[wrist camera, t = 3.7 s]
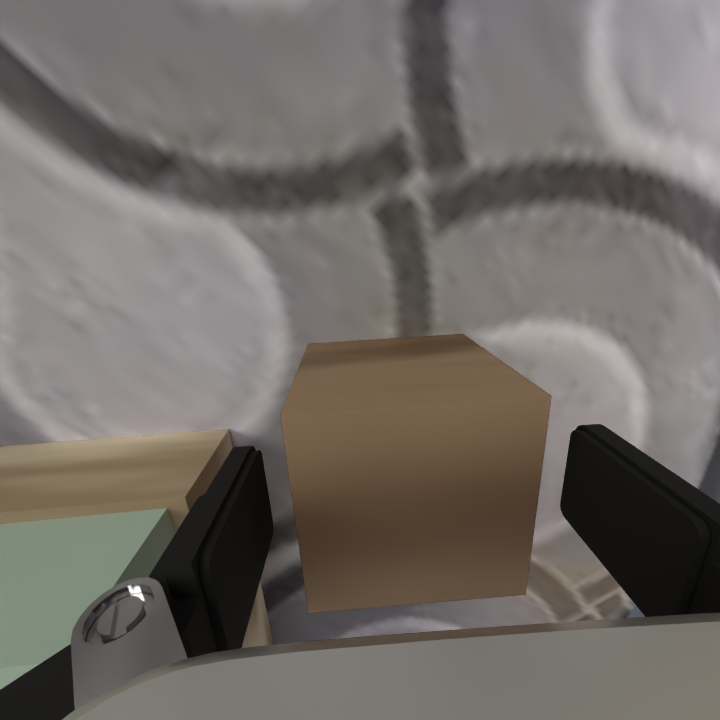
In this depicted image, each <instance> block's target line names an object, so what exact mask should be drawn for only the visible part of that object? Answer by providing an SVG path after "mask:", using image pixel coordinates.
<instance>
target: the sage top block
mask: <svg viewBox="0 0 720 720" xmlns="http://www.w3.org/2000/svg"><path fill="white" fill-rule="evenodd" d="M174 535H175V532H174V529H173V525H172V522H171V519H170V516H169V513H168V510H167V508H163V509H153V510H143V511H132V512H122V513H112V514H101V515H91V516H81V517H70V518H60V519H50V520H39V521H29V522H19V523H8V524H0V689H2V688H3V687H5V686H7V685H8V684H10V683H11V682H13V681H14V680H16V679H17V678H19V677H20V676H22V675H23V674H25V673H27V672H28V671H30V670H31V669H33V668H34V667H36V666H37V665H39V664H40V663H42V662H43V661H45V660H46V659H48V658H50V657H51V656H53V655H54V654H56V653H57V652H59V651H60V650H62V649H63V648H65V647H66V646H68V645H70V644H71V636H72V630H73V628H74V626H75V624H76V622H77V620H78V619H79V617H80V616H81V614H82V613H83V612H84V611H85V610H86V608H87V607H88V606H89V605H90V604H91V603H92V602H93V601H95V600H96V599H97V598H98V597H99V596H100V595H102V594H103V593H105V592H106V591H108V590H109V589H111V588H112V587H114V586H116V585H118V584H120V583H123V582H125V581H127V580H131V579H135V578H139V577H149V575H150V573H151V572H152V570H153V569H154V567H155V565H156V564H157V562H158V561H159V559H160V557H161V556H162V554H163V553H164V551H165V549H166V548H167V546H168V545H169V543H170V541H171V540H172V538H173V537H174Z"/></svg>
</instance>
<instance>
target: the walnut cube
mask: <svg viewBox="0 0 720 720" xmlns="http://www.w3.org/2000/svg"><path fill="white" fill-rule="evenodd" d="M550 404H551V395H550V394H548V393H547V392H545V391H544V390H542V389H541V388H540V387H538V386H537V385H535V384H534V383H532V382H531V381H530V380H528V379H527V378H525V377H524V376H522V375H521V374H519V373H518V372H517V371H515V370H514V369H512V368H511V367H509V366H508V365H507V364H505V363H504V362H502V361H501V360H499V359H498V358H496V357H495V356H494V355H492V354H491V353H489V352H488V351H486V350H485V349H484V348H482V347H481V346H479V345H478V344H476V343H475V342H474V341H472V340H471V339H469V338H468V337H466V336H465V335H463V334H454V335H438V336H423V337H407V338H392V339H377V340H361V341H346V342H331V343H315V344H308V346H307V348H306V351H305V353H304V356H303V358H302V361H301V363H300V366H299V368H298V371H297V374H296V376H295V379H294V381H293V384H292V386H291V389H290V391H289V394H288V397H287V399H286V402H285V404H284V407H283V409H282V412H281V414H280V417H281V424H282V431H283V437H284V444H285V451H286V458H287V465H288V472H289V479H290V486H291V493H292V500H293V507H294V514H295V521H296V528H297V535H298V542H299V549H300V556H301V563H302V570H303V577H304V584H305V591H306V598H307V605H308V612H309V613H316V612H327V611H339V610H351V609H363V608H374V607H386V606H398V605H410V604H421V603H433V602H445V601H457V600H469V599H480V598H492V597H504V596H516V595H526V588H527V581H528V573H529V565H530V558H531V550H532V542H533V534H534V527H535V519H536V511H537V504H538V496H539V488H540V481H541V473H542V465H543V458H544V450H545V442H546V435H547V427H548V419H549V412H550Z"/></svg>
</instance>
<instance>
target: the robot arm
mask: <svg viewBox="0 0 720 720" xmlns="http://www.w3.org/2000/svg"><path fill="white" fill-rule="evenodd" d="M560 507H561V511H562V514H563V516H564V517H565V519H566V520H567V521H568V522H569V524H570V525H571V526H572V527H573V529H574V530H575V531H576V532H577V533H578V535H579V536H580V537H581V538H582V540H583V541H584V542H585V543H586V544H587V546H588V547H589V548H590V549H591V551H592V552H593V553H594V554H595V555H596V557H597V558H598V559H599V560H600V562H601V563H602V564H603V565H604V566H605V568H606V569H607V570H608V571H609V573H610V574H611V575H612V576H613V577H614V579H615V580H616V581H617V582H618V584H619V585H620V586H621V587H622V588H623V590H624V591H625V592H626V593H627V595H628V596H629V597H630V598H631V599H632V601H633V602H634V603H635V604H636V606H637V607H638V608H639V609H640V610H641V612H642V613H643V614H644V615H645V617H638V618H622V619H606V620H590V621H575V622H561V623H546V624H532V625H517V626H503V627H489V628H474V629H460V630H446V631H433V632H420V633H407V634H393V635H380V636H367V637H354V638H341V639H328V640H317V641H307V642H296V643H286V644H275V645H265V646H255V647H247V648H242V645H243V641H244V637H245V634H246V630H247V627H248V623H249V619H250V616H251V612H252V608H253V605H254V601H255V597H256V594H257V590H258V587H259V583H260V579H261V576H262V572H263V568H264V565H265V561H266V558H267V554H268V550H269V547H270V543H271V539H272V535H273V520H272V514H271V508H270V501H269V495H268V489H267V483H266V477H265V471H264V464H263V458H262V453H261V451H260V450H258V451H256V450H255V448H254V446H244V447H233V448H232V450H231V451H230V453H229V455H228V456H227V458H226V460H225V461H224V463H223V465H222V466H221V468H220V470H219V471H218V473H217V474H216V476H215V478H214V479H213V481H212V483H211V484H210V486H209V488H208V489H207V491H206V493H205V494H204V495H201V496H199V498H198V499H197V500H196V501H195V503H194V505H193V506H192V508H191V509H190V511H189V513H188V514H187V516H186V517H185V519H184V521H183V522H182V524H181V525H180V527H179V529H178V530H177V532H176V533H175V535H174V537H173V538H172V540H171V541H170V543H169V545H168V546H167V548H166V549H165V551H164V553H163V554H162V556H161V557H160V559H159V561H158V562H157V564H156V565H155V567H154V569H153V570H152V572H151V573H150V575H149V577H139V578H135V579H131V580H127V581H125V582H123V583H120V584H118V585H116V586H114V587H112V588H111V589H109V590H108V591H106V592H105V593H103V594H102V595H100V596H99V597H98V598H97V599H96V600H95V601H93V602H92V603H91V604H90V605H89V606H88V607H87V608H86V610H85V611H84V612H83V613H82V614H81V616H80V617H79V619H78V620H77V622H76V624H75V626H74V628H73V630H72V636H71V644H70V645H68V646H66V647H65V648H63V649H62V650H60V651H59V652H57V653H56V654H54V655H53V656H51V657H50V658H48V659H46V660H45V661H43V662H42V663H40V664H39V665H37V666H36V667H34V668H33V669H31V670H30V671H28V672H27V673H25V674H23V675H22V676H20V677H19V678H17V679H16V680H14V681H13V682H11V683H10V684H8V685H7V686H5V687H3V688H2V689H0V720H720V504H719V503H717V502H716V501H714V500H713V499H711V498H710V497H709V496H707V495H706V494H704V493H703V492H701V491H700V490H698V489H697V488H695V487H694V486H692V485H691V484H689V483H688V482H686V481H685V480H683V479H682V478H680V477H679V476H677V475H676V474H675V473H673V472H672V471H670V470H669V469H667V468H666V467H664V466H663V465H661V464H660V463H658V462H657V461H655V460H654V459H652V458H651V457H649V456H648V455H646V454H645V453H643V452H642V451H640V450H639V449H637V448H636V447H634V446H633V445H631V444H630V443H628V442H627V441H625V440H624V439H623V438H621V437H620V436H618V435H617V434H615V433H614V432H612V431H611V430H609V429H608V428H606V427H605V426H603V425H601V424H593V425H580V426H578V427H577V428H576V430H575V431H573V432H572V433H571V436H570V443H569V449H568V456H567V463H566V469H565V476H564V483H563V489H562V496H561V503H560Z"/></svg>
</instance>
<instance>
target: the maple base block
mask: <svg viewBox="0 0 720 720" xmlns="http://www.w3.org/2000/svg"><path fill="white" fill-rule="evenodd" d="M232 448H233V446H232V441H231V436H230V431H229V429H223V430H210V431H197V432H183V433H170V434H157V435H144V436H131V437H118V438H105V439H92V440H79V441H66V442H53V443H40V444H27V445H14V446H1V447H0V524H8V523H19V522H29V521H39V520H50V519H60V518H70V517H81V516H91V515H101V514H112V513H122V512H132V511H143V510H153V509H163V508H167V510H168V513H169V516H170V519H171V522H172V525H173V529H174V532H175V533H176V532H177V530H178V529H179V527H180V525H181V524H182V522H183V521H184V519H185V517H186V516H187V514H188V513H189V511H190V509H191V508H192V506H193V505H194V503H195V501H196V500H197V499H198V498H199V496H201V495H204V494H205V493H206V491H207V489H208V488H209V486H210V484H211V483H212V481H213V479H214V478H215V476H216V474H217V473H218V471H219V470H220V468H221V466H222V465H223V463H224V461H225V460H226V458H227V456H228V455H229V453H230V451H231V450H232ZM265 645H274V644H273V640H272V635H271V630H270V625H269V620H268V615H267V611H266V606H265V601H264V596H263V591H262V586H261V581H260V583H259V587H258V590H257V594H256V597H255V601H254V605H253V608H252V612H251V616H250V619H249V623H248V627H247V630H246V634H245V637H244V641H243V645H242V648H247V647H255V646H265Z"/></svg>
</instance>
